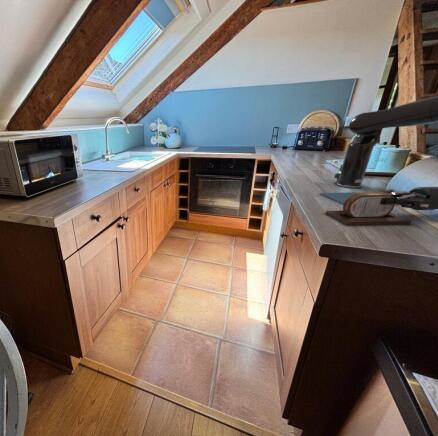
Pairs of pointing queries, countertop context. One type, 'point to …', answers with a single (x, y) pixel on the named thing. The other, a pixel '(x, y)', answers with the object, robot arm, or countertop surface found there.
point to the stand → (368, 219)
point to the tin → (367, 205)
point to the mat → (338, 196)
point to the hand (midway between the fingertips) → (378, 199)
